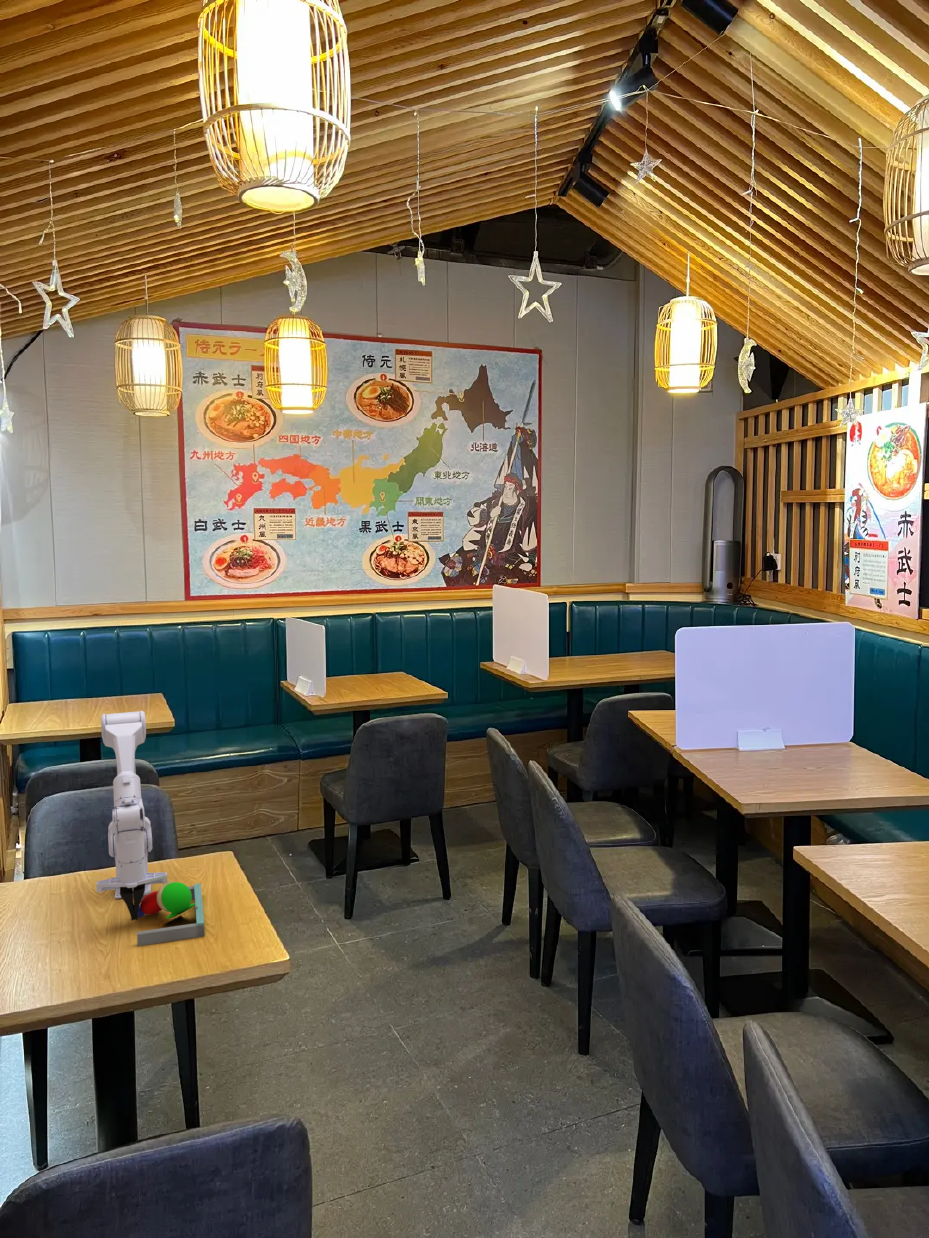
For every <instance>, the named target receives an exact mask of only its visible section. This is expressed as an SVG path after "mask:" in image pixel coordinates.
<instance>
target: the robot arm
mask: <svg viewBox="0 0 929 1238" xmlns="http://www.w3.org/2000/svg"><path fill="white" fill-rule="evenodd" d="M146 724H147V723H146V712H145V711H143V710H140V711H139V710H138V711H128V712H115V713H102V715H101V716H100V726H101V727H100V731H101V738H102V743H103V744H104V746H105V747H108V748H112V749H113V752H114V753H115V761H116V773H117V774H116V776H115V777H114V779H113V781H112V787H113V788H112V789H113V791H112V792H113V807H114V808H113V809H112V813H111V814H112V816H111V817H112V820H111V822H110V823H109V825H108V826H107V827H108V828H107V829H108V832H107V837H108V839H107V840H108V842H107V843H108V854H109V856H110V857H111V858H114V860H115V874H116V876H115V877H109V878H106V879H102V880H97V881H96V884H95V887H96V894H97V893H99V894H100V893H103V892H105V891H111V890H112V891H113V890H115V891H114V899H122V900H123V902H124V903H125V906H126V908H127V909H128V913H129V916H130V919H131V921H135V920H138V918H137V917H138V909H139V906H140V905H141V899H142V897H143V895H144V893H146V892H152V891H151V890H152V889H151V888H152V885H157V884H162V885H163V884H165V883H167V882H168V872H167V871H164V872H149V863H148V856H149V855H148V854H149V853H150V852H151V851H153V836H152V835H153V834H152V826H151V820H150V819H149V818H148V817H147V816H145V815H146V814H145V807H144V803H143V798H142V790H141V789H142V786H141V785H142V784H141V778H140V776H139V775H137V772H136V758H135V757H136V756H135V755H136V750H137V747H138V746H139V745H141V744H144V743H145V740H146V739H147V738H146V737H147V725H146Z"/></svg>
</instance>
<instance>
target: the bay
mask: <svg viewBox="0 0 929 1238" xmlns="http://www.w3.org/2000/svg"><path fill="white" fill-rule="evenodd" d="M187 887H188V888H189V889H190V891H191V895H192V899H191V900H194V903H195V905H194V907H195V908H194V910H195V920H196V922H195V923H189V924H182V925H174V926H169V927H167V926H166V927H161V928H160V927H159V928H153V929H148V930H141V931H137V932H136V939H137V941H136V942H137V947H142V946H149V945H157V944H161V943H169V942H175V941H180V940H181V941H182V940H188V939H189V940H190V939H194V938H195V939H196V938H201V937H205V935H206V934H205V920H204V919H205V918H204V916H205V915H204V907H203V906H204V905H203V895H202V885H201V883H199V882H198V883H194V884H193V885H191V886H187ZM155 891H156V890H154V891H151V892H146V893H144V895H143V897H142V899H143V898H144V897H145V896H146V895H148V894H149V893H152V892H155ZM142 899H141V901H142Z"/></svg>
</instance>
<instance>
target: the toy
mask: <svg viewBox="0 0 929 1238" xmlns="http://www.w3.org/2000/svg"><path fill="white" fill-rule="evenodd" d="M188 887H189V886H188V885H187V884H185V883H183V882H181V881H179V882H178V881H172V880H170V881H167V883H165V884H162V885H161V886H160V887H159V889H158V890H154V891H155V892H153V891H151V892H152V893H149V894H148V895H146V896H145V897H144V898H143V899H142V901H141V902H140V905H139V909H138V917H137V919H138V918H141V917H144V916H146V915H150V916H151V915H155V914H158V913H160V912H161V911H165V912H166V913H170V914H168V916H166V917H165V919H166V920H167V919H168V920H169V919H170V920H169V921H168V923H169V922H171V921H174V920H175V919H178V918H179V917H181V916H183V915H186V914H187V913H189V912H190V911H192V910H190V909H193V907H195V902H194V903H192V900H193V899H192V895H191V891H190V889H189V888H188ZM172 918H173V919H172Z"/></svg>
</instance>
